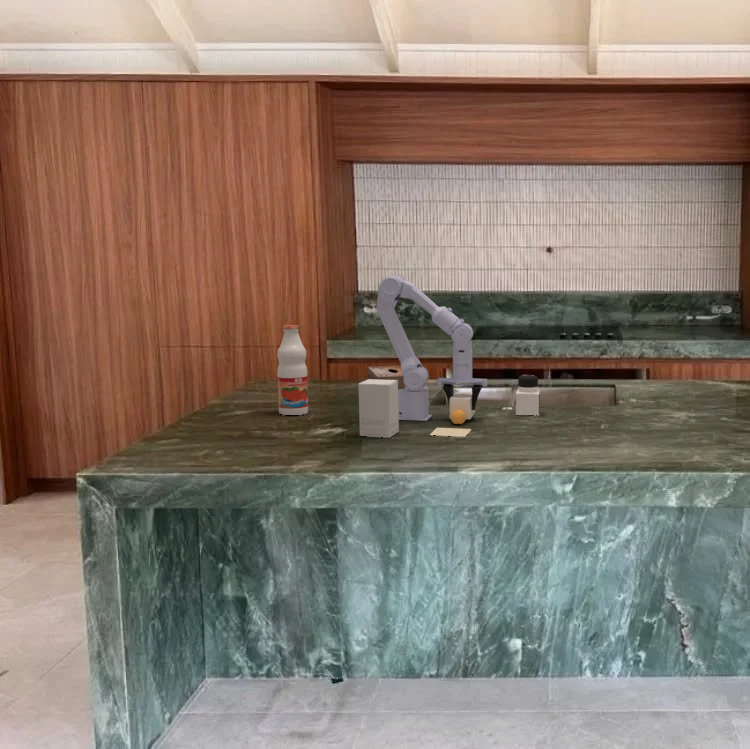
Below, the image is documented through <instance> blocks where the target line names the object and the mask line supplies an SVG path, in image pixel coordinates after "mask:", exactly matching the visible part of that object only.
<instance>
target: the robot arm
mask: <svg viewBox="0 0 750 749" xmlns="http://www.w3.org/2000/svg"><path fill="white" fill-rule="evenodd" d="M400 298H403V299H410V300H412V301H413V302H414V303H416V304H417V305H418V306H419V307H421V308H422V309H423V310H424V311H426V313H429V314H430V315H431V320H432V322H433V323H434V324H435V325H436V326H438V327H439V328H440V329H441V330H442V331H443V332H445V333H446V334H447V335H450V337H451V340H452V342H453V349H452V377H439V378H437V385H438V386H442V390H443V392H444V394H445V396H446V398H447V402H448V406H449V407H450V398H451V397H452V396H453V394H454V386H472V387H471V393H472V410H475V411H476V405H477V403H478V402H477V401H478V398H479V395H480V394H481V391H482V388H483V387H487V386H488V379H487V378H478V377H477V378H476V377H475V378H474V377H473V348H472V347H473V343H472V338H473V336H474V330H473V328H472V326H471V325H470V324H469V323H466V322H465V320H464V319H463V318H459V317H458V316H457V315H455V313H453V312H452V311H453V309H452V308H451V307H448V308H447V307H446V306H439V305H437V304H436V303H435V302H434V301H432V299H430V298H429V297H428V296H427V295H425V293H424V291H423V292H422V290H420V289H419V288H418V286H416V285H415V284H413V283H412V282H411V281H410V280H408V279H405V278H404V277H403V276H402V275H400V274H392V275H387V276H385V277H383V278H382V280H381V281H380V283H379V285H378V287H377V298H376V299H377V301H376V312H377V314H378V316H379V318H380V320H381V323H382V325H383V326H384V329H385V332H386V334H387V336H388V339H389V340H390V343H391V344H392V347H393V349H394V351H395V353H396V355H397V357H398V360H399V362H400V366H401V370H402V372H403V375H404V378H403V381H404V384H405V386H406V387H404V389H399V390H398V417H399V421H401V420H402V421H420V422H421V421H423V422H425V421H426V422H427V421H428V420H430V418H431V417H432V416H433V414H429V387H428V386H427V382H428V381H429V378H430V375H429V371H428V369H427V368H426V367H424V365H423V364H422V363H421V361H420V359H419V358H418V357H417V356H416V353H415V352H414V349H413V347H412V345H411V343H410V341H409V339H408V337H407V333H406V332H405V330H404V327H403V326H402V323H401V321H400V319H399V316H398V314H397V312H396V310H395V307H396V305H397V302H398V301H399V299H400Z"/></svg>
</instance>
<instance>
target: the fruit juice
mask: <svg viewBox="0 0 750 749" xmlns="http://www.w3.org/2000/svg"><path fill="white" fill-rule="evenodd" d="M282 329H283V330H282V331H283V337H282V340H281V343H280V346H279V348H278V349H277V354H276V355H277V356H276V357H277V360H278V366H277V399H278V403H277V404H278V413H279V415H280V414H282V415H281V416H285V415H299V416H303V414H304V415H307V414H308V413H309V388H308V367H307V365H306V359H307V350H306V348H305V346H304V344H303V342H302V339H301V336H300V334H299V330H300V327H299V325H298V324H284V325H283V327H282Z"/></svg>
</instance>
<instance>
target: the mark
mask: <svg viewBox="0 0 750 749" xmlns="http://www.w3.org/2000/svg"><path fill="white" fill-rule="evenodd" d="M471 431H472V428H458V427H457V428H453V427H449V428H448V427H436V428H435V429H434V430H433V431H432V432H431V433H430V434H429V437H430V435H431V436H433V435H436V436H435V437H448V436H451V437H450V438H452V437H453V438H455V437H456V438H466V437H467V436H468V435H469V434H470V432H471ZM467 434H468V435H467ZM466 435H467V436H466ZM433 437H434V436H433Z"/></svg>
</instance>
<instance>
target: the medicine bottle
mask: <svg viewBox="0 0 750 749" xmlns="http://www.w3.org/2000/svg"><path fill="white" fill-rule="evenodd" d="M517 383H518V384H517V390H515V391H516V392H515V416H516V415H534V416H533V417H539V416H540V411H541V409H540V407H541V406H540V403H541V402H540V401H541V399H540V398H541V391H540V389H539V378H538V376H536V375H532V374H522V375H519V376H518V378H517ZM536 415H537V416H536Z"/></svg>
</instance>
